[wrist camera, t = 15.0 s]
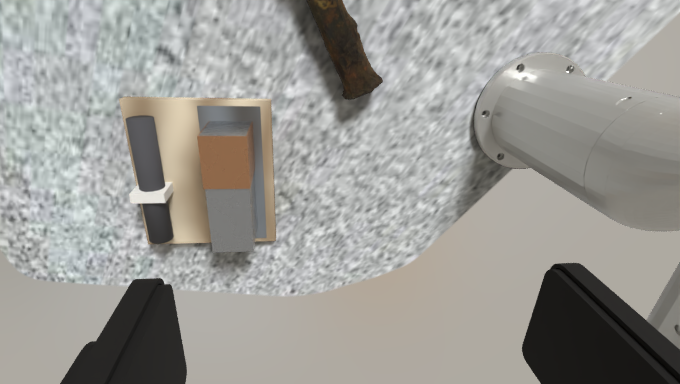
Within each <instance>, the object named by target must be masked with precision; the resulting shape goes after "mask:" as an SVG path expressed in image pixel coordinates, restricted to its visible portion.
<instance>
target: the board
mask: <svg viewBox="0 0 680 384" xmlns="http://www.w3.org/2000/svg"><path fill="white" fill-rule="evenodd" d="M119 101H120V106H121V111H122V116H123V121H124V126H125V131H126V136H127V141H128V146H129V151H130V156H131V161H132V166H133V171H134V176H135V181H136V186H137V185H138V180H137V175H136V170H135V165H134V160H133V155H132V150H131V145H130V140H129V135H128V130H127V125H126V120H125V119H126V118H128V117H132V116H139V115H148V116H153V117H154V120H155V126H156V132H157V138H158V144H159V150H160V156H161V162H162V168H163V174H164V180H165V182H172V183H173V190H174V191H173V193H172V194H171V196H170V197H169V198H168V205H169V211H170V217H171V223H172V229H173V235H174V237H173V239H172V240H170V241H169V242H166V243H162V244H179V243H211V234H210V226H209V218H208V209H207V201H206V192H205V189H203V181H202V173H201V165H200V156H199V148H198V140H197V136H198V134H199V133H200V132H201V131H202V129H203V128H204V127H205V126H206V124H207V123H208V122H209V121H248V122H253V138H254V155H255V189H256V206H257V223H258V228H257V234H256V240H255V241H276V220H275V193H274V166H273V139H272V112H271V99H235V98H171V97H123V98H121V99H119ZM140 206H141V211H142V216H143V221H144V226H145V231H146V236H147V240H148V244H153V243H151V242H150V241H149V236H148V231H147V226H146V221H145V216H144V211H143V206H142V203H140Z"/></svg>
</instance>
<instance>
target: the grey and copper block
mask: <svg viewBox="0 0 680 384" xmlns="http://www.w3.org/2000/svg"><path fill="white" fill-rule="evenodd" d="M197 140H198V148H199V156H200V165H201V173H202V181H203V189H205V192H206V201H207V209H208V218H209V226H210V234H211V243H212V251H213V252H247V251H254V246H255V240H256V234H257V228H258V223H257V206H256V189H255V155H254V138H253V122H248V121H209V122H208V123H207V124H206V126H205V127H204V128H203V129H202V131H201V132H200V133H199V134H198V136H197Z"/></svg>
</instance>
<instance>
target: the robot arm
mask: <svg viewBox="0 0 680 384" xmlns="http://www.w3.org/2000/svg"><path fill="white" fill-rule="evenodd" d="M517 66H518V68H517ZM516 68H517V69H516ZM483 111H484V113H483V114H482V112H483ZM474 129H475V136H476V138H477V141H478V144H479V146H480V147H481V149H482V150H483V152H484V153H485V154H486V155H487V156H488V157H489V158H490V159H492V160H493V161H495V162H496V163H498V164H500V165H502V166H505V167H509V168H514V169H526V168H532V169H534V170H535V171H537V172H538V173H540V174H542V175H543V176H545V177H546V178H548V179H549V180H551V181H553V182H554V183H556V184H557V185H559V186H560V187H562V188H564V189H565V190H566V191H568V192H570V193H571V194H573V195H574V196H576V197H577V198H579V199H580V200H582V201H584V202H585V203H587V204H589V205H590V206H591V207H593V208H594V209H596V210H598V211H599V212H601V213H603V214H604V215H606V216H607V217H609V218H610V219H612V220H614V221H616V222H618V223H620V224H622V225H625V226H628V227H631V228H635V229H640V230H645V231H679V230H680V97H679V96H673V95H669V94H664V93H659V92H654V91H650V90H645V89H640V88H635V87H631V86H626V85H622V84H617V83H612V82H608V81H603V80H598V79H593V78H589V77H586V76H585V74H584V72H583V71H582V69H581V68H580V67H579V66H578V65H577V64H576V63H575V62H574V61H572V60H571V59H570V58H568V57H565V56H563V55H560V54H555V53H548V52H537V53H532V54H527V55H524V56H522V57H519V58H516V59H515V60H513V61H511V62H510V63H508V64H506V65H505V66H504V67H503V68H501V69H500V70H499V71H498V72H497V73H496V74H495V75H494V76H493V77H492V78H491V80H490V81H489V82H488V83H487V85H486V87H485V88H484V90H483V91H482V93H481V96H480V98H479V100H478V103H477V106H476V111H475V115H474ZM522 352H523V356H524V359H525V360H526V362H527V364H528V365H529V367H530V368H531V370H532V371H533V373H534V374H535V376H536V377H537V379H538V380H539V381H540V383H541V384H680V263H679V264H678V266H677V268H676V270H675V271H674V273H673V275H672V277H671V278H670V280H669V282H668V284H667V285H666V287H665V289H664V290H663V292H662V294H661V296H660V297H659V299H658V301H657V303H656V304H655V306H654V308H653V309H652V312H651V313H650V315H649V316H648V318H647V320H645V319H644V318H643V317H642V316H640V315H639V314H638V313H637V312H636V311H635V310H633V309H632V308H631V307H630V306H629V305H628V304H627V303H625V302H624V301H623V300H622V299H621V298H620V297H619V296H617V295H616V294H615V293H614V292H613V291H611V290H610V289H609V288H608V287H607V286H606V285H605V284H603V283H602V282H601V281H600V280H599V279H597V277H595V276H594V275H593V274H592V273H591V272H590V271H588V270H587V269H586V268H585V267H584V266H582V265H581V264H579V263H562V264H554V265H553V266H552V267H551V269H550V270H548V271H547V272H546V273H545V276H544V279H543V282H542V285H541V288H540V291H539V295H538V298H537V301H536V304H535V307H534V310H533V313H532V317H531V320H530V323H529V326H528V329H527V332H526V336H525V339H524V342H523V346H522ZM186 375H187V369H186V362H185V356H184V350H183V345H182V339H181V333H180V328H179V323H178V317H177V311H176V306H175V300H174V294H173V289H172V286H171V285H170V284H166V285H164V281H163V280H162V279H161V278H156V279H135V280H133V281H132V283H131V284H130V286H129V287H128V289H127V291H126V293H125V294H124V296H123V297H122V299H121V301H120V303H119V304H118V306H117V307H116V309H115V311H114V312H113V314H112V316H111V317H110V319H109V321H108V322H107V324H106V326H105V327H104V329H103V331H102V333H101V334H100V336H99V337H98V339H97V341H95V342H89V343H88V344H86V345H85V347H84V348H83V349H82V350H81V352H80V353H79V355H78V356H77V358H76V359H75V361H74V363H73V364H72V366H71V367H70V369H69V371H68V372H67V374H66V375H65V377H64V379H63V380H62V382H61V383H60V384H185V382H186Z"/></svg>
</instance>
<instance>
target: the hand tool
mask: <svg viewBox="0 0 680 384" xmlns="http://www.w3.org/2000/svg"><path fill="white" fill-rule="evenodd" d="M307 2H308V5H309V7H310V9H311V11H312V14H313V16H314V18H315V21H316V23H317V25H318V28H319V31H320V33H321V36H322V38H323V40H324V43H325V46H326V48H327V50H328V52H329V54H330V57H331V59H332V61H333V62H334V65H335V67H336V70H337V72H338V74H339V76H340V78H341V80H342V83H343V86H344V91H343V94H342V96H343V97H344V98H345V99H348V100H349V99H355V98H357V97H360V96H362V95H365V94H367V93H370V92H372V91H373V90H374V89H375V88H376V87H378V86H379V84H381V83H382V82H383V80H382V78H381V77H380V76H379V75H377V74H376V72H375V71H374V70H373V68H372V67H371V64H370V63H369V62H368V59H367V57H366V54H365V52H364V49H363V46H362V42H361V40H360V35H359V33H358V32H357V23H356V22H355V20H354V19H353V18H352V17H351V16H350V15H349V14H348V12H347V11H346V8H345V6H344V4H343V1H342V0H307Z"/></svg>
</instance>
